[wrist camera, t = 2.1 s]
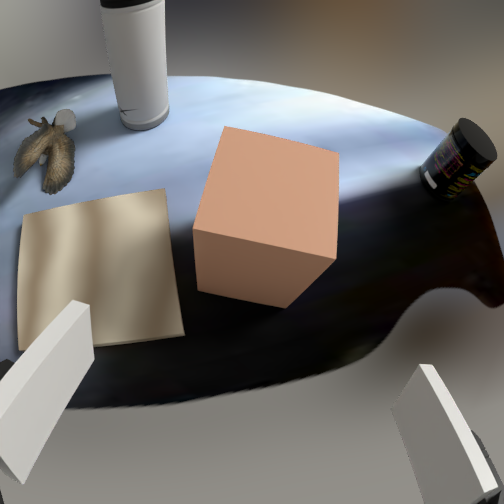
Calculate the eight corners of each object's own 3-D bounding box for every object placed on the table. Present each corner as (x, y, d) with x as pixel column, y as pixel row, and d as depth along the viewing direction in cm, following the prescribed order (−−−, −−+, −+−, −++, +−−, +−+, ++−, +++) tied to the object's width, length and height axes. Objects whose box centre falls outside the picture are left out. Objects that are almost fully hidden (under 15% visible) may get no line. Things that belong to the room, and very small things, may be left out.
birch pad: (26, 352, 22) (18, 350, 21) (29, 221, 27) (23, 215, 26) (184, 335, 26) (183, 333, 24) (166, 196, 31) (164, 188, 29)
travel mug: (122, 138, 33) (93, -16, 15) (120, 105, 35) (99, -31, 17) (173, 127, 35) (168, -30, 16) (166, 95, 37) (162, -42, 19)
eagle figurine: (22, 144, 30) (7, 191, 26) (33, 97, 26) (15, 138, 21) (72, 154, 35) (67, 201, 31) (89, 109, 31) (83, 151, 26)
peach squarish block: (285, 308, 28) (335, 259, 17) (197, 290, 28) (192, 228, 17) (295, 230, 31) (338, 153, 20) (216, 213, 31) (224, 126, 20)
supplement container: (460, 196, 38) (503, 155, 28) (438, 210, 36) (486, 166, 26) (433, 160, 40) (471, 115, 30) (409, 170, 38) (449, 120, 28)
